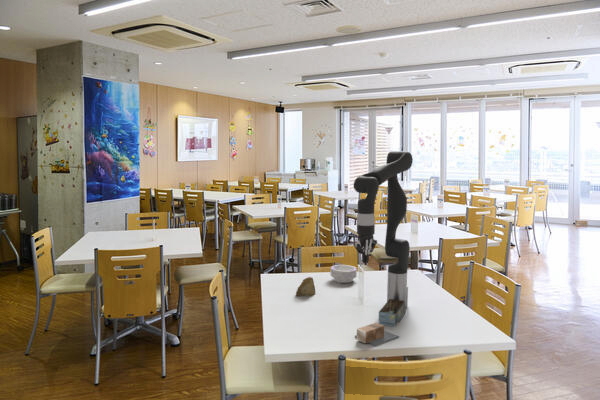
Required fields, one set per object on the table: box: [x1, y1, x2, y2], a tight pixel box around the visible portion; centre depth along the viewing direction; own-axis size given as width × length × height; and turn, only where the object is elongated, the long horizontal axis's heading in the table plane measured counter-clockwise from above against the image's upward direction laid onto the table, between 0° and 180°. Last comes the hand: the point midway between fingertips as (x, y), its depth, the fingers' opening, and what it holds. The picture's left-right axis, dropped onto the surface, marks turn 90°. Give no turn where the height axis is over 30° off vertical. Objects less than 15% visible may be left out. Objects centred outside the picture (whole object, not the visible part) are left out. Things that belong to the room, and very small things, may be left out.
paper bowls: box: [330, 264, 358, 284], centre depth 266 cm, size 15×15×8 cm
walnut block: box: [356, 322, 385, 344], centre depth 182 cm, size 4×4×11 cm
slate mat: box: [354, 329, 400, 347], centre depth 185 cm, size 14×11×1 cm
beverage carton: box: [378, 299, 406, 327], centre depth 206 cm, size 8×19×7 cm, turn 155°
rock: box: [295, 276, 316, 297], centre depth 240 cm, size 11×9×10 cm
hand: (365, 262), depth 197 cm, fingers closed
